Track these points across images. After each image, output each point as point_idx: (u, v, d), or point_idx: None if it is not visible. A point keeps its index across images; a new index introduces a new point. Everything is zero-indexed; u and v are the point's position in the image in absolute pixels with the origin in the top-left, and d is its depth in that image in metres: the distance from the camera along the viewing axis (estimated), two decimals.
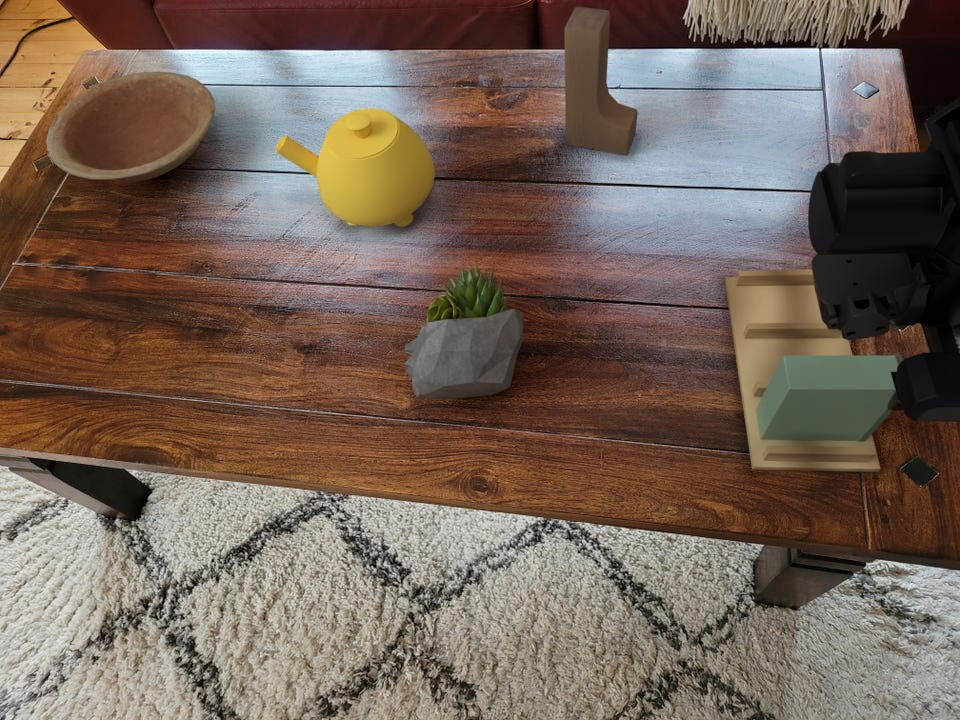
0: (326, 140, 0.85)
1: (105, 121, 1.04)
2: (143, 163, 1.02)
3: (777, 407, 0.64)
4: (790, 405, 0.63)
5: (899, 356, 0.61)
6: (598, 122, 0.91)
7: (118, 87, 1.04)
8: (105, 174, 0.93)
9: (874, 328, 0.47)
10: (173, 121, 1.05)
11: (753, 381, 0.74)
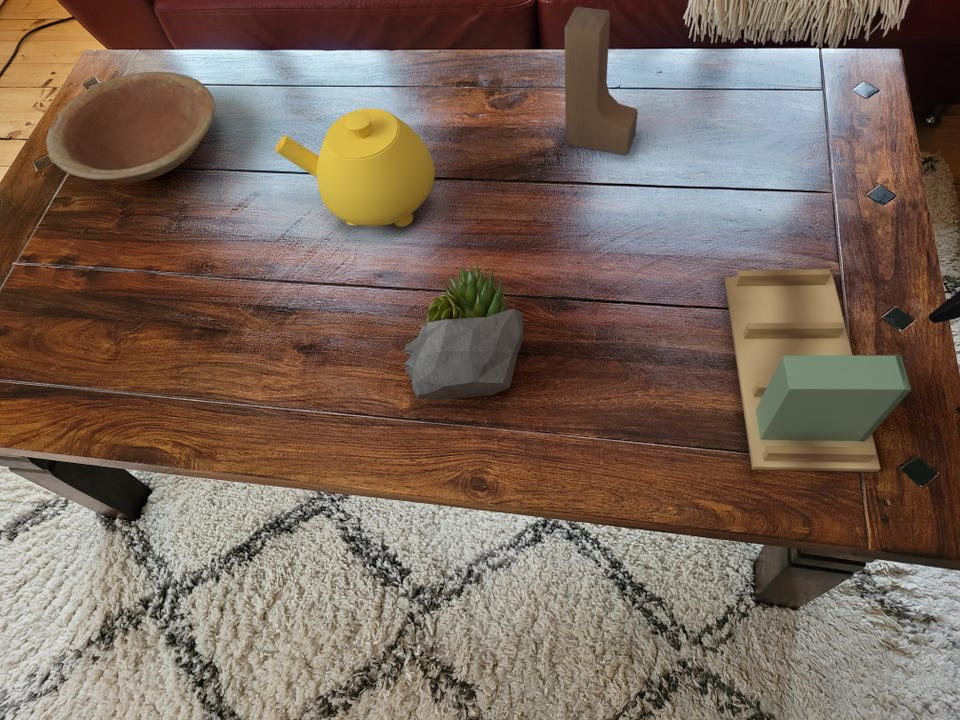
0: (326, 140, 0.85)
1: (105, 121, 1.04)
2: (143, 163, 1.02)
3: (777, 407, 0.64)
4: (790, 405, 0.63)
5: (899, 356, 0.61)
6: (598, 122, 0.91)
7: (118, 87, 1.04)
8: (105, 174, 0.93)
9: None
10: (173, 121, 1.05)
11: (753, 381, 0.74)
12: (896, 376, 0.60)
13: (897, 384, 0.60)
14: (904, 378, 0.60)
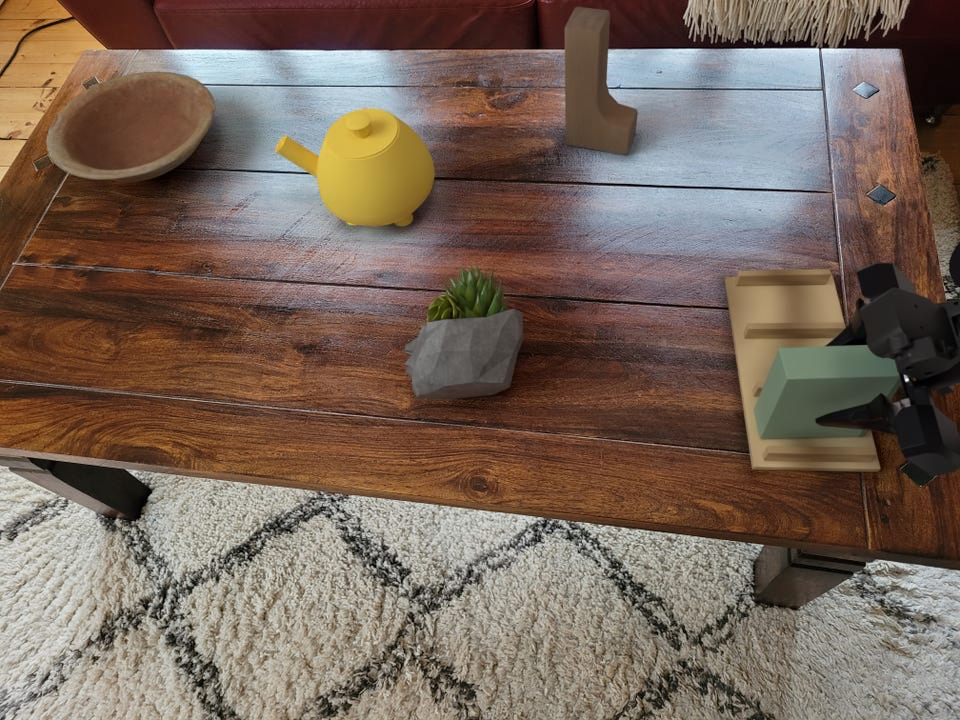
0: (326, 140, 0.85)
1: (105, 121, 1.04)
2: (143, 163, 1.02)
3: (776, 401, 0.64)
4: (788, 398, 0.64)
5: None
6: (598, 122, 0.91)
7: (118, 87, 1.04)
8: (105, 174, 0.93)
9: (927, 371, 0.52)
10: (173, 121, 1.05)
11: (753, 381, 0.74)
12: (891, 364, 0.61)
13: (893, 371, 0.60)
14: None
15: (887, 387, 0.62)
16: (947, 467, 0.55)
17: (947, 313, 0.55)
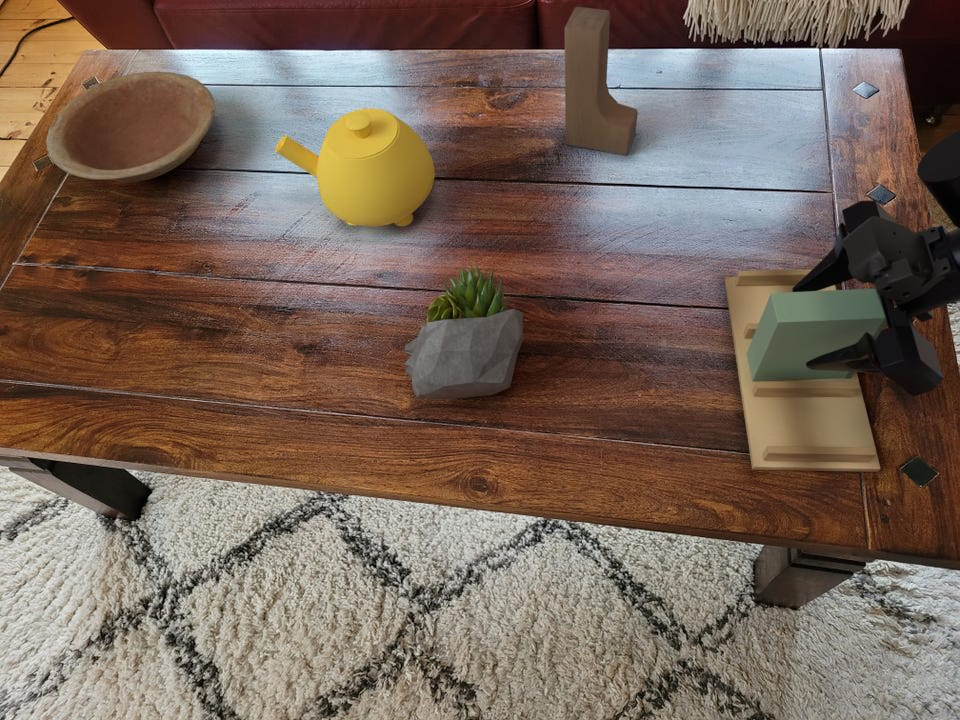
0: (326, 140, 0.85)
1: (105, 121, 1.04)
2: (143, 163, 1.02)
3: (767, 344, 0.68)
4: (779, 341, 0.67)
5: None
6: (598, 122, 0.91)
7: (118, 87, 1.04)
8: (105, 174, 0.93)
9: (904, 291, 0.56)
10: (173, 121, 1.05)
11: (753, 381, 0.74)
12: (877, 306, 0.64)
13: (878, 313, 0.64)
14: None
15: (872, 329, 0.65)
16: (926, 385, 0.58)
17: (925, 240, 0.58)
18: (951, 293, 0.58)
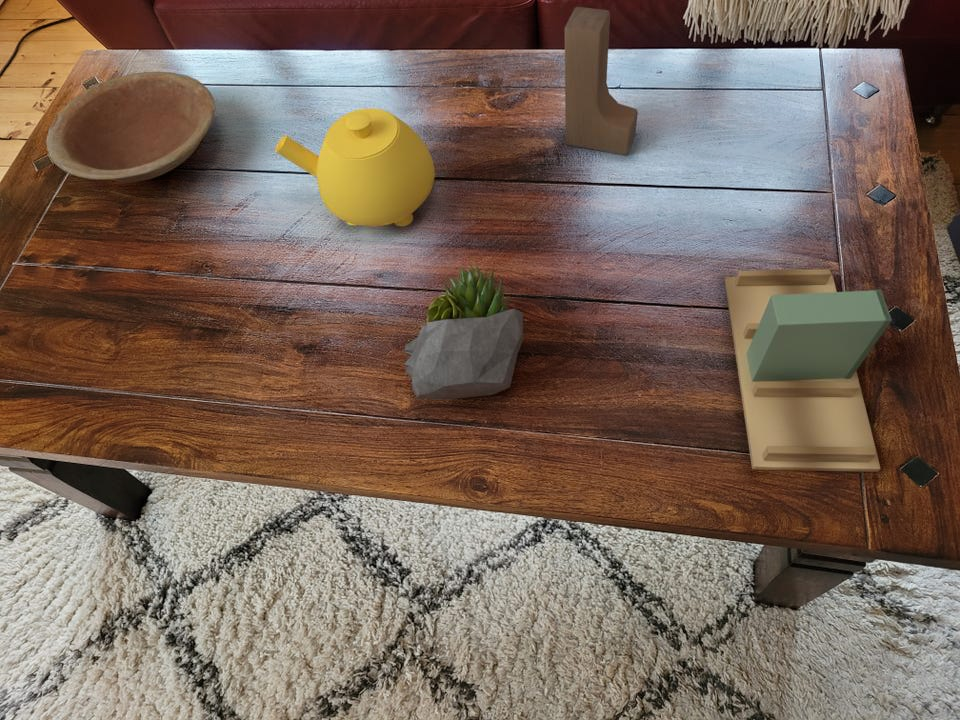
0: (326, 140, 0.85)
1: (105, 121, 1.04)
2: (143, 163, 1.02)
3: (767, 345, 0.68)
4: (779, 343, 0.67)
5: (879, 291, 0.65)
6: (598, 122, 0.91)
7: (118, 87, 1.04)
8: (105, 174, 0.93)
9: None
10: (173, 121, 1.05)
11: (753, 381, 0.74)
12: (877, 309, 0.64)
13: (879, 316, 0.64)
14: (885, 310, 0.64)
15: (873, 331, 0.65)
16: None
17: None
18: None
